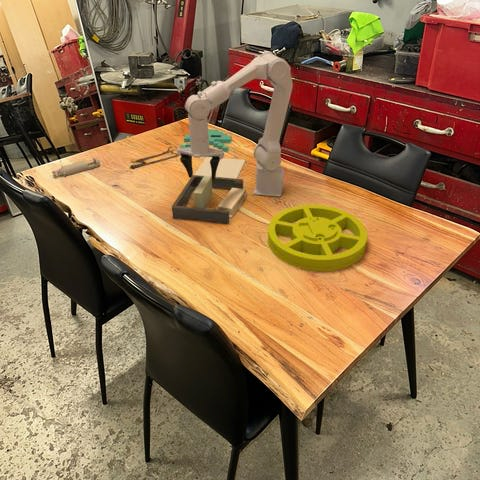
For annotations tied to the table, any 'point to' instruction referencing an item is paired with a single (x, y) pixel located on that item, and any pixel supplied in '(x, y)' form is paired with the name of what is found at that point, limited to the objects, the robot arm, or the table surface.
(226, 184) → the offcut rack
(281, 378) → the table surface
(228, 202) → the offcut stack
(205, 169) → the rubber mat
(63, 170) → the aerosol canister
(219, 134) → the alien figure
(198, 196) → the sage board
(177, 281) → the table surface
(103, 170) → the table surface
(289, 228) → the pulley
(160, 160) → the hacksaw
